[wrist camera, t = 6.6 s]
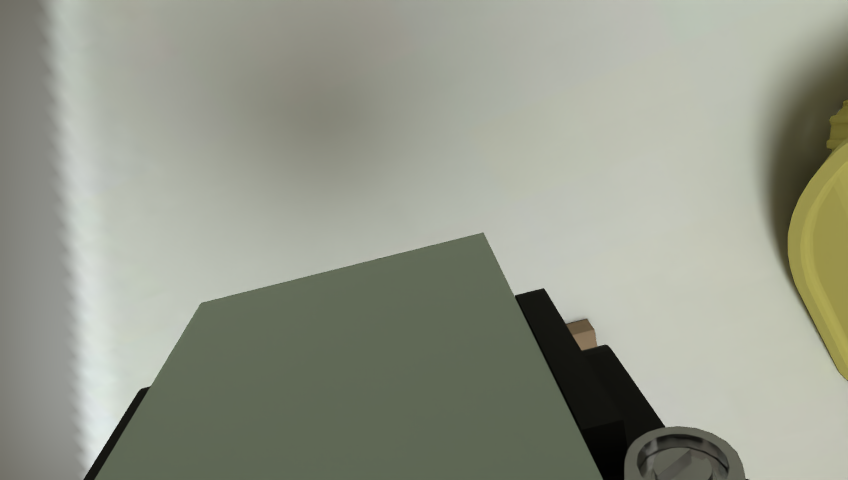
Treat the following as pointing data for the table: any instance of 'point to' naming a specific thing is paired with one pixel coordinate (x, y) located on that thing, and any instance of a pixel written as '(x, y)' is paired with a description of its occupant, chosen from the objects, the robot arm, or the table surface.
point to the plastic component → (825, 244)
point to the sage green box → (359, 382)
